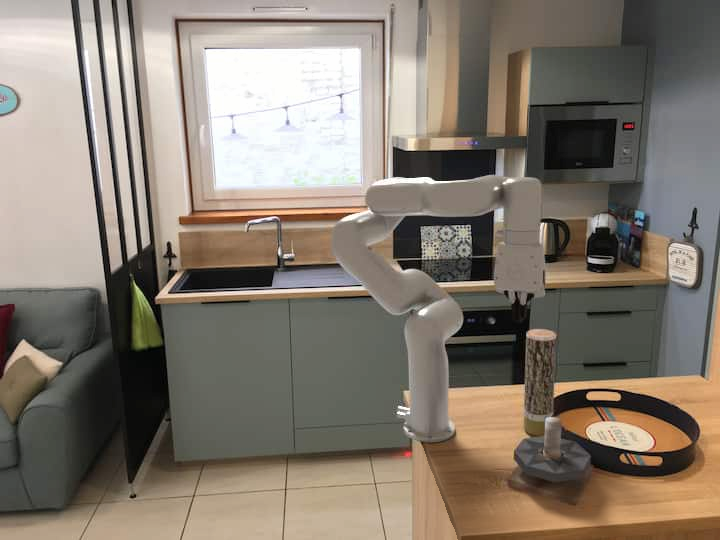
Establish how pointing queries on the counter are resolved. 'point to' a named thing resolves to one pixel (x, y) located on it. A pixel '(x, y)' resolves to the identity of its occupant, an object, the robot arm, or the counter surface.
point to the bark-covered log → (539, 379)
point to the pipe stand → (554, 490)
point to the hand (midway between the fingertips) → (518, 320)
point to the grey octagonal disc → (552, 460)
